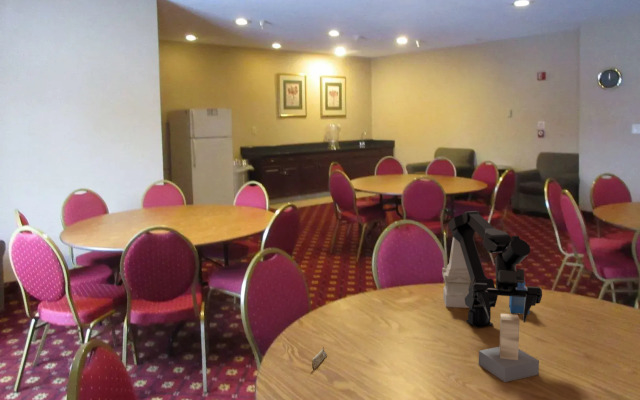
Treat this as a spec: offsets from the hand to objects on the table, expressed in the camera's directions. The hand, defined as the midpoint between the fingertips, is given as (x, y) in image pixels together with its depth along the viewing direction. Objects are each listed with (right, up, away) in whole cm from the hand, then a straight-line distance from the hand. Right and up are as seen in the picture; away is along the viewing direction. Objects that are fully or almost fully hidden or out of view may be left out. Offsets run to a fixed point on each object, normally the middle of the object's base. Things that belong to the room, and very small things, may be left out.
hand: (506, 320), depth 147 cm
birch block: (-1, -9, -4) cm, 10 cm away
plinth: (-1, -13, -4) cm, 13 cm away
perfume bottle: (+19, -6, +40) cm, 44 cm away
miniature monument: (-1, -5, +49) cm, 49 cm away
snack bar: (-53, -13, +3) cm, 55 cm away
